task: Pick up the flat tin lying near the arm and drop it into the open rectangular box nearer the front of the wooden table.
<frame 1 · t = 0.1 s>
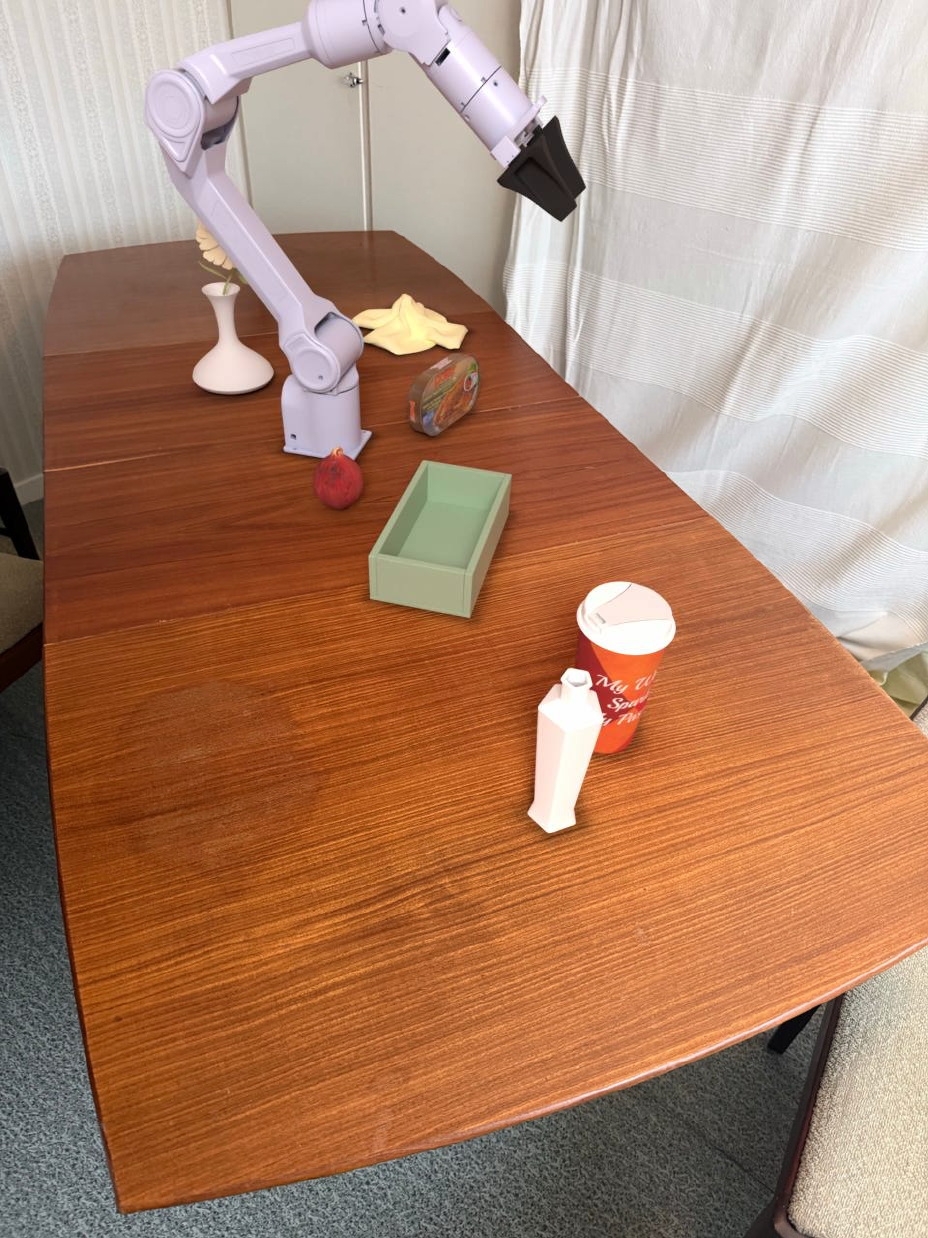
hand: (574, 204, 84), 32 cm above the table, tool tilted 50°, fingers open, 7 cm apart
pomegranate: (340, 510, 98), on the table
open rectangular box: (444, 553, 92), on the table
flower in vase: (240, 386, 121), on the table
cloth: (407, 330, 139), on the table
white tall faceted bottle: (549, 813, 66), on the table
paper cup: (601, 730, 73), on the table
tin: (443, 422, 115), on the table
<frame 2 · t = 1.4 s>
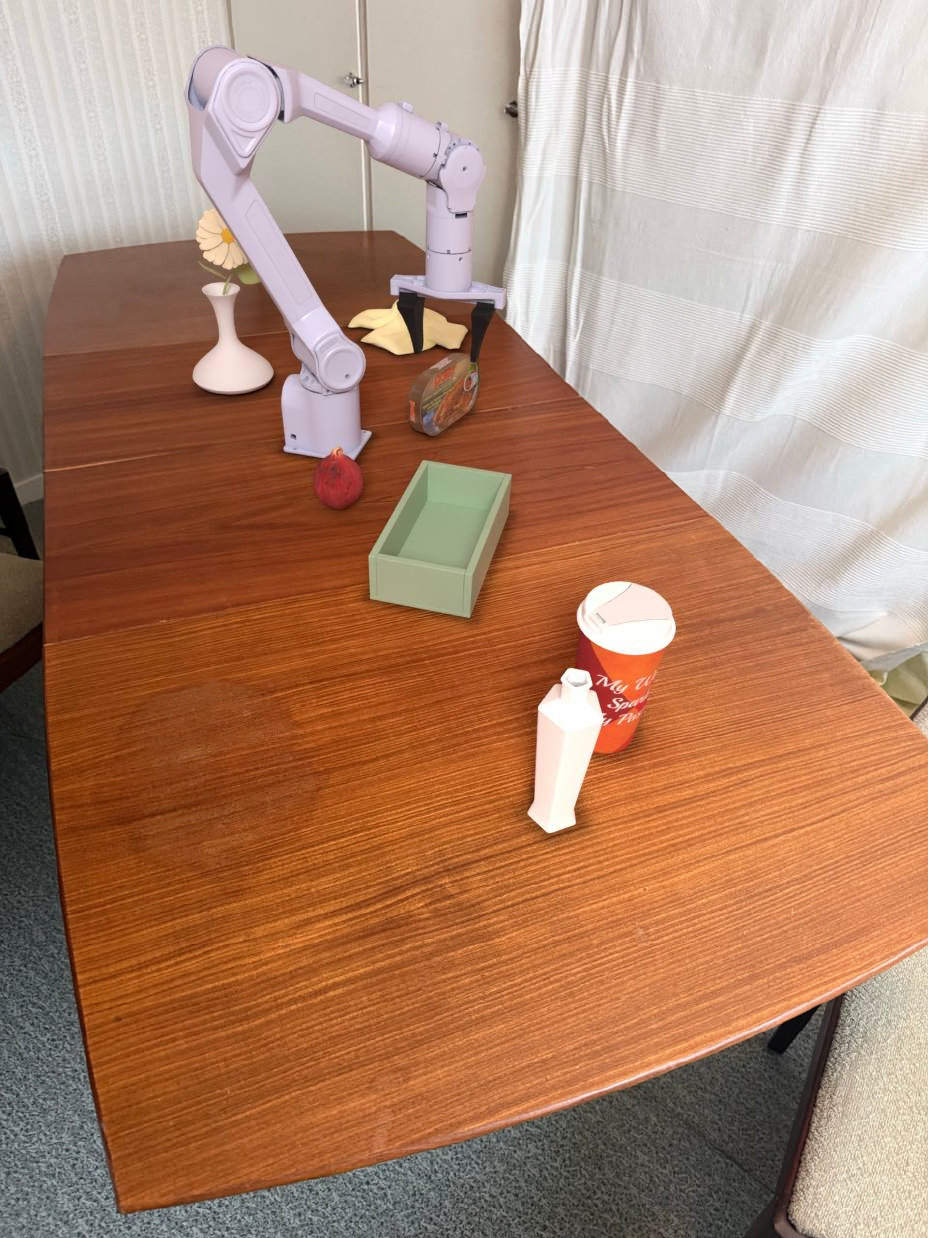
hand: (446, 355, 109), 9 cm above the table, tool pointing down, fingers open, 7 cm apart
nothing on the table moved.
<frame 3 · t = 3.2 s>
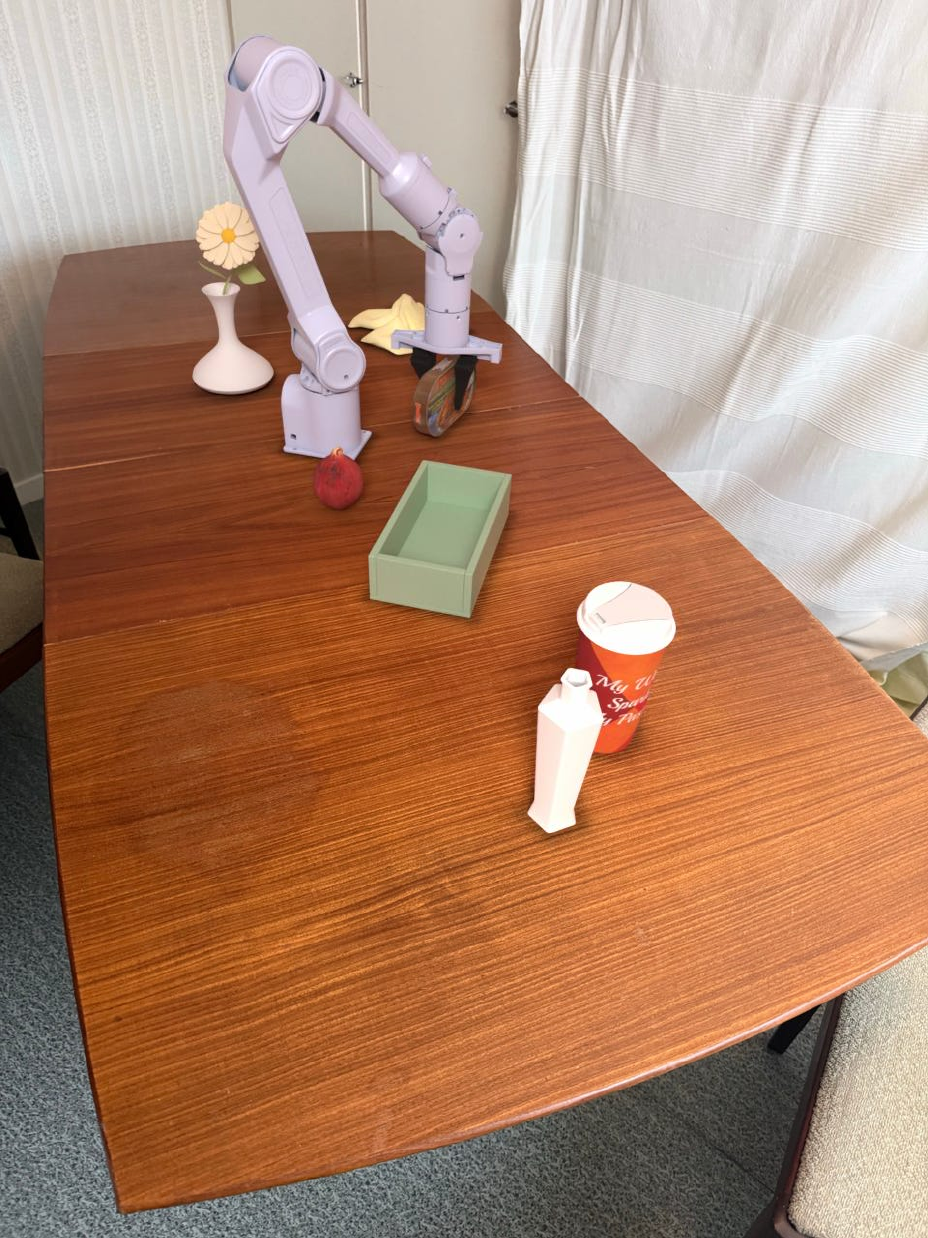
hand: (444, 404, 114), 2 cm above the table, tool pointing down, fingers closed on tin, 3 cm apart
tin: (443, 422, 115), on the table, touching gripper
everything else where it was.
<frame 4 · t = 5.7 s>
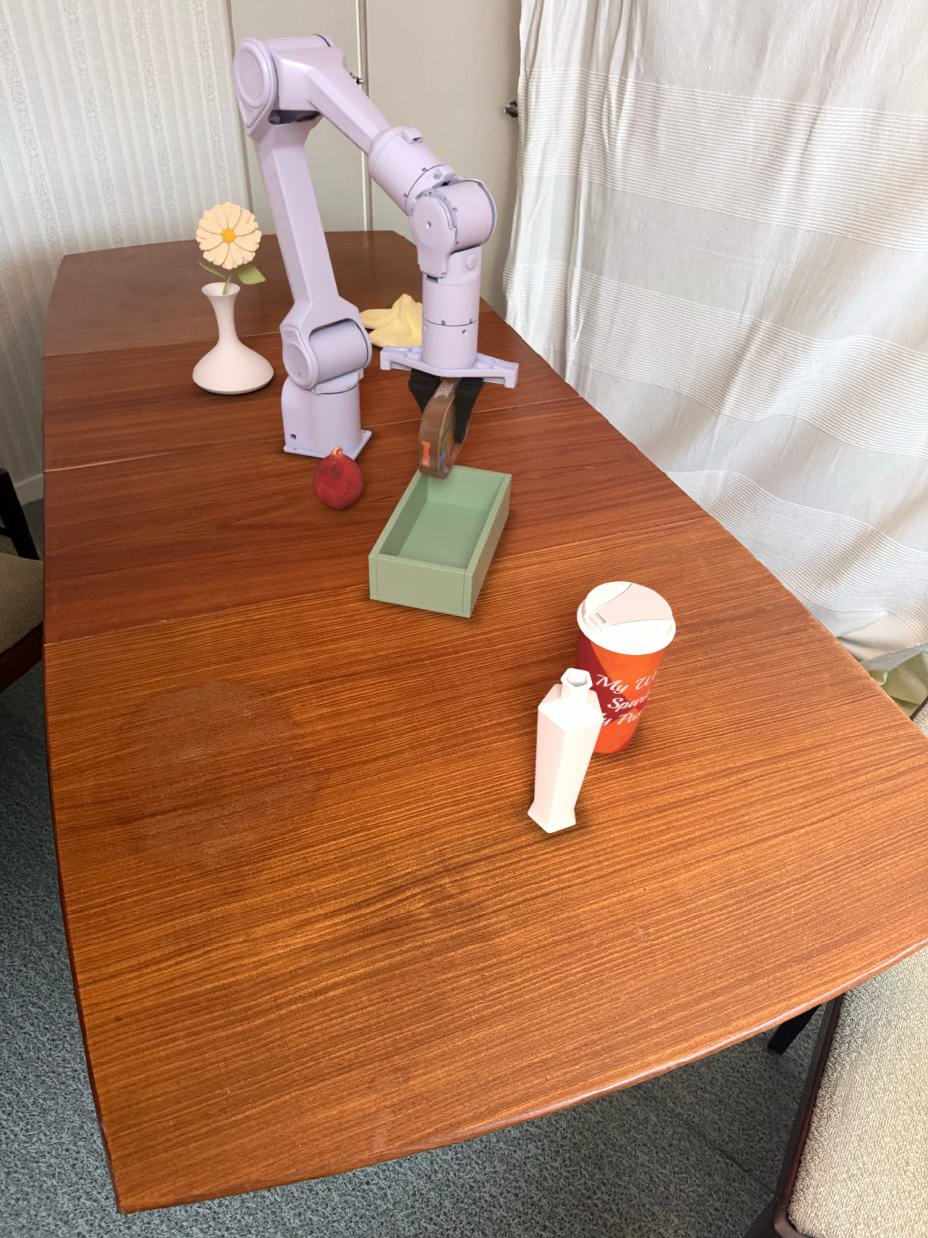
hand: (446, 437, 92), 9 cm above the table, tool pointing down, fingers closed on tin, 2 cm apart
tin: (442, 458, 94), point 7 cm above the table, touching gripper
everything else where it was.
when the fingers open (4 cm above the table, at t = 8.3 s): tin stays where it is, resting on open rectangular box.
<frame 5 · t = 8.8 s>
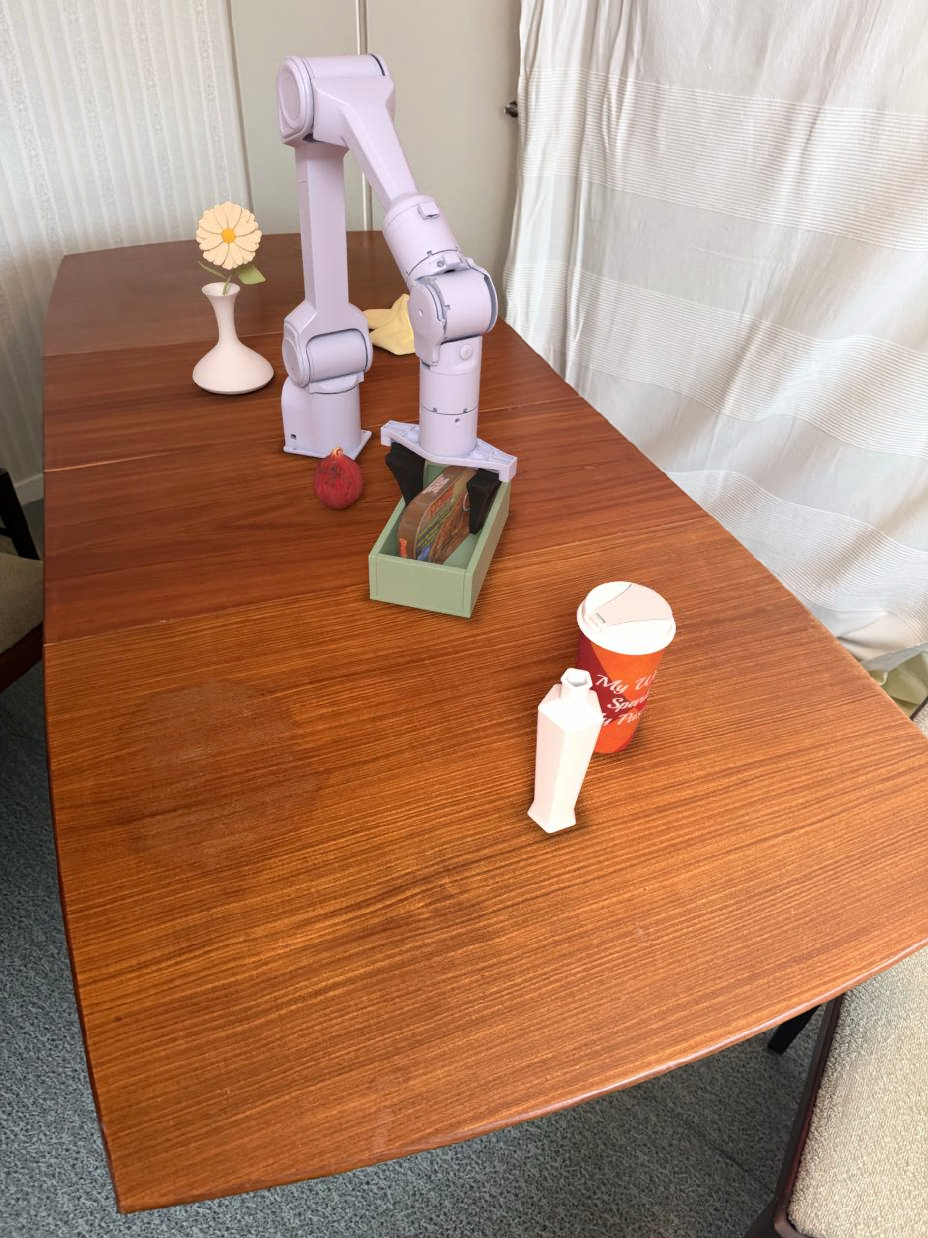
hand: (445, 518, 89), 5 cm above the table, tool pointing down, fingers open, 7 cm apart
tin: (439, 551, 92), resting on open rectangular box
everything else where it was.
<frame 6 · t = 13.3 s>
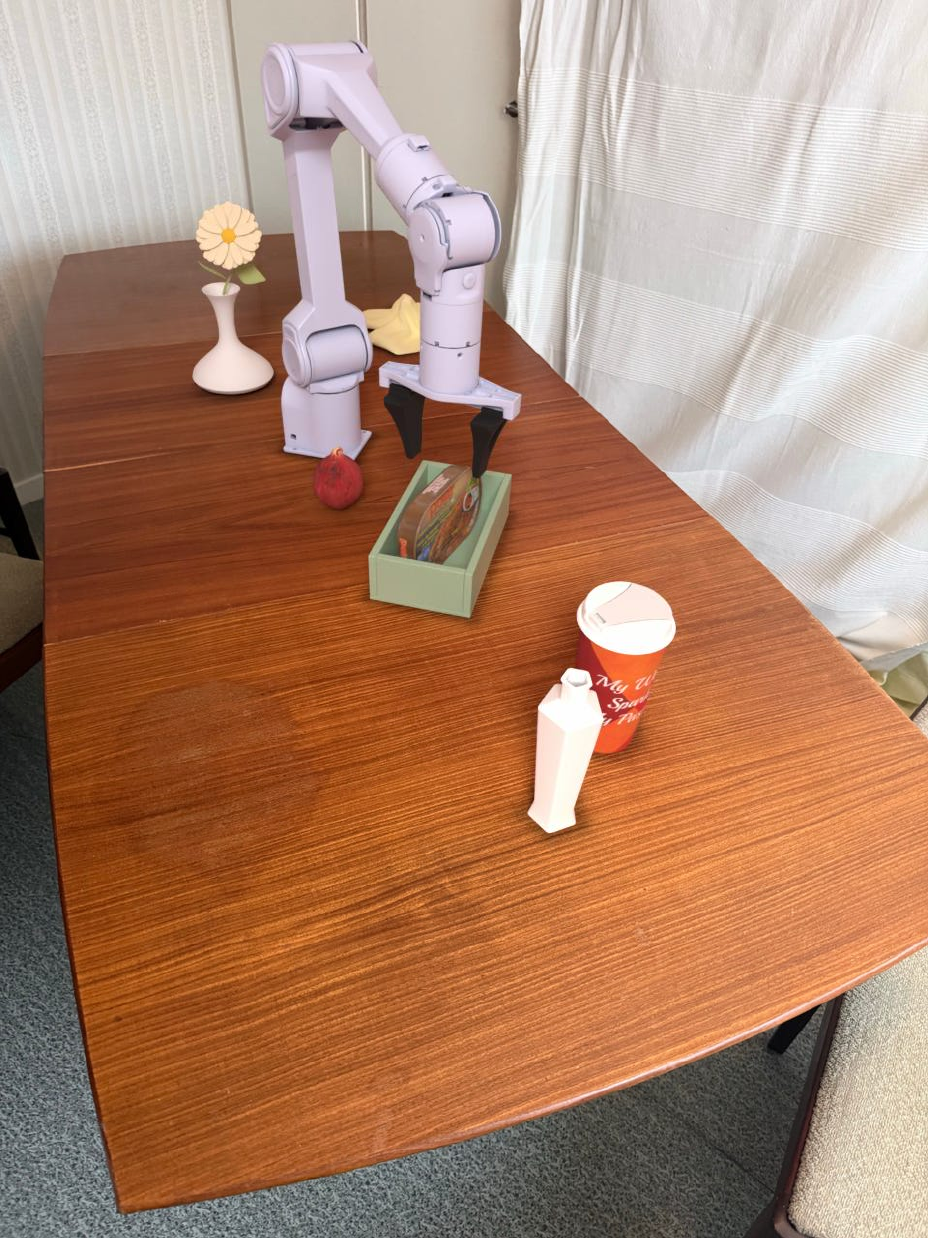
hand: (446, 463, 86), 10 cm above the table, tool pointing down, fingers open, 7 cm apart
nothing on the table moved.
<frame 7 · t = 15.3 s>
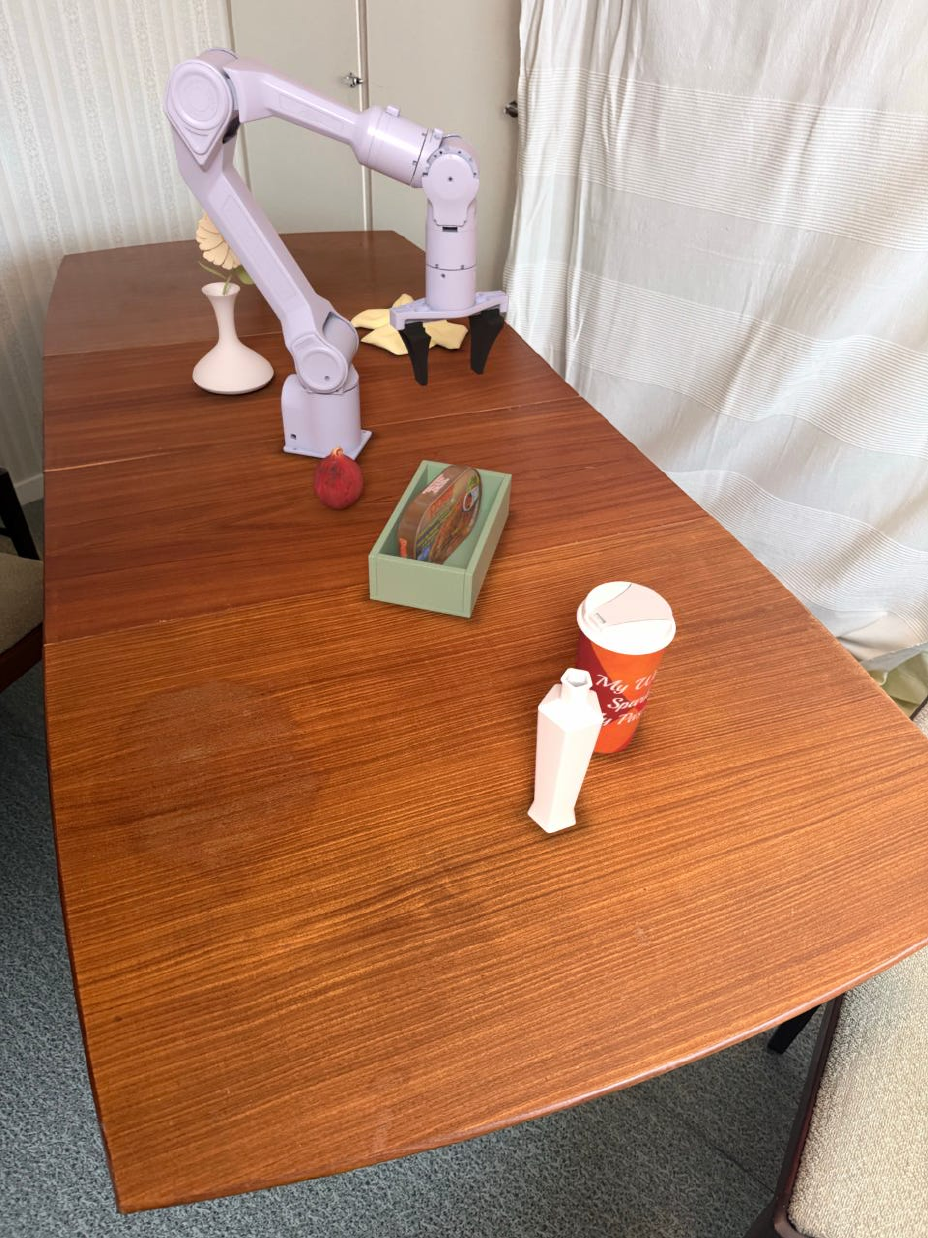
hand: (449, 376, 102), 10 cm above the table, tool pointing down, fingers open, 7 cm apart
nothing on the table moved.
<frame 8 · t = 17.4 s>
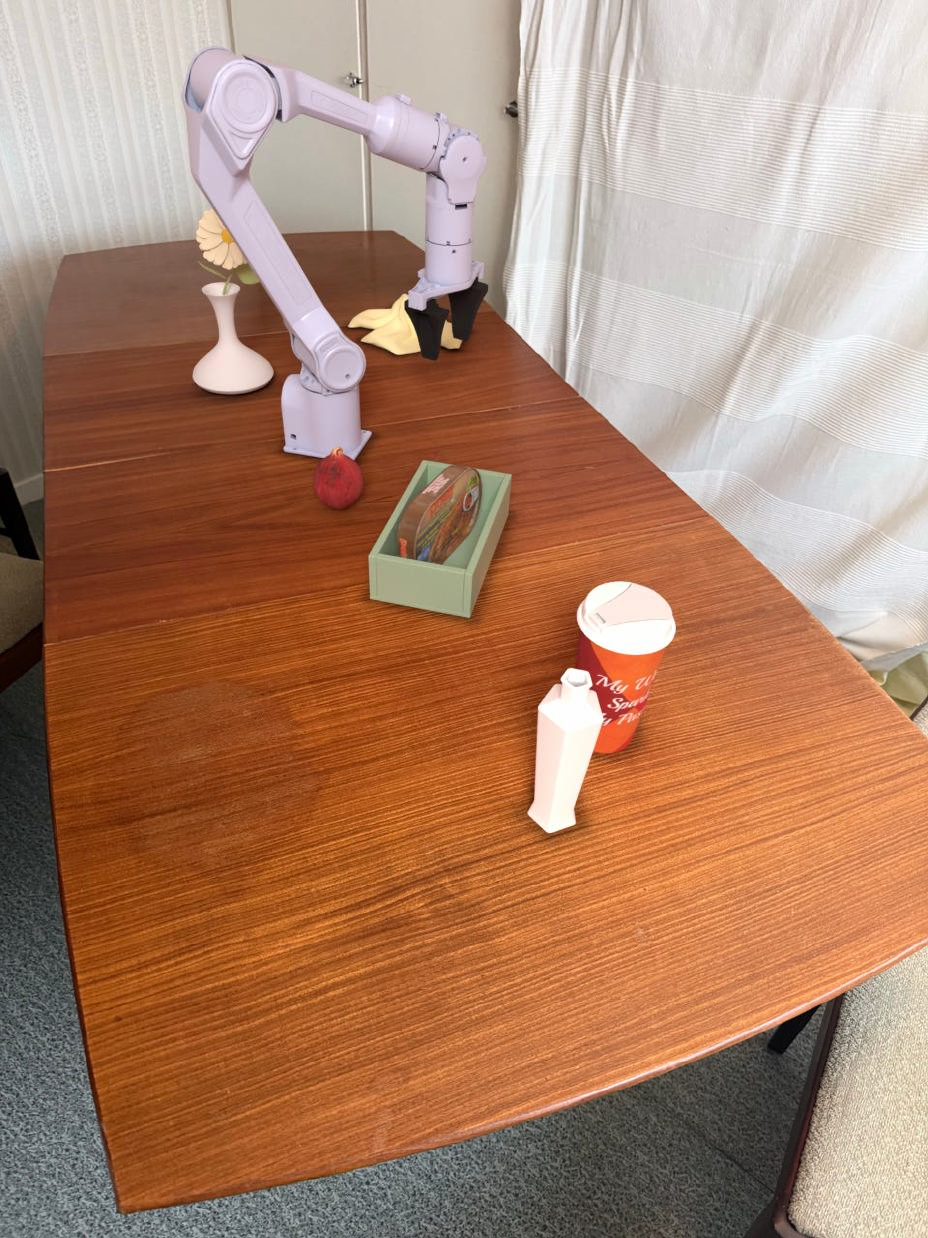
hand: (445, 348, 108), 10 cm above the table, tool pointing down, fingers open, 7 cm apart
nothing on the table moved.
at the end: tin inside the target area in the open rectangular box (0.5 cm from its centre), point 0.3 cm above the open rectangular box's base; the gripper is holding nothing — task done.
